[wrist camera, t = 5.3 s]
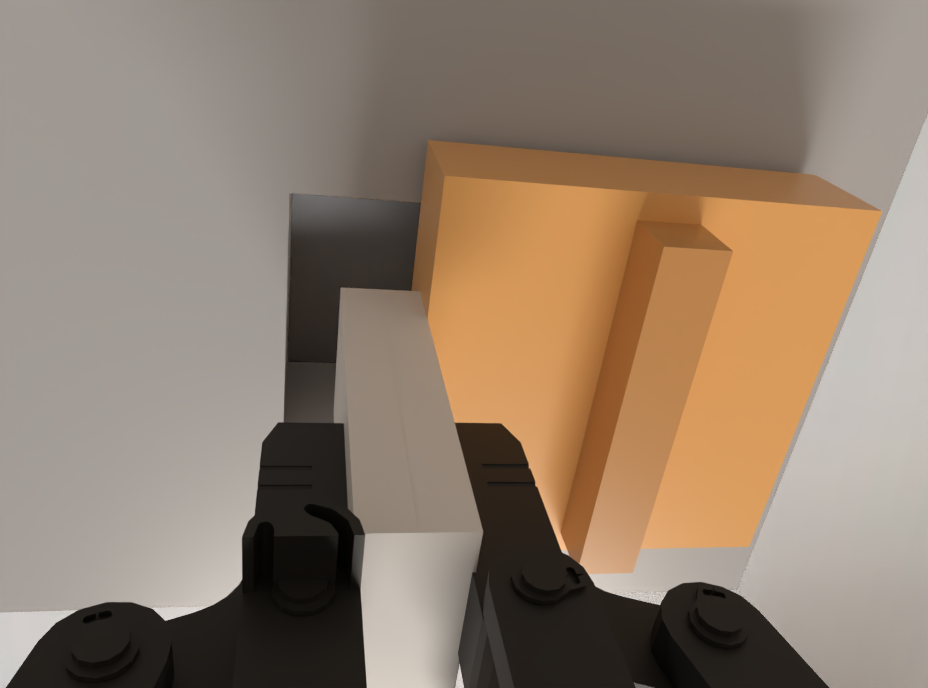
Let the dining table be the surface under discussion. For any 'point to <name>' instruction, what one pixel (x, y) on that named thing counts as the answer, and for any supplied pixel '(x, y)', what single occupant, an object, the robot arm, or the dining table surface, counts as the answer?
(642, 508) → the orange ridged block
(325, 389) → the socket plate
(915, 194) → the dining table surface
